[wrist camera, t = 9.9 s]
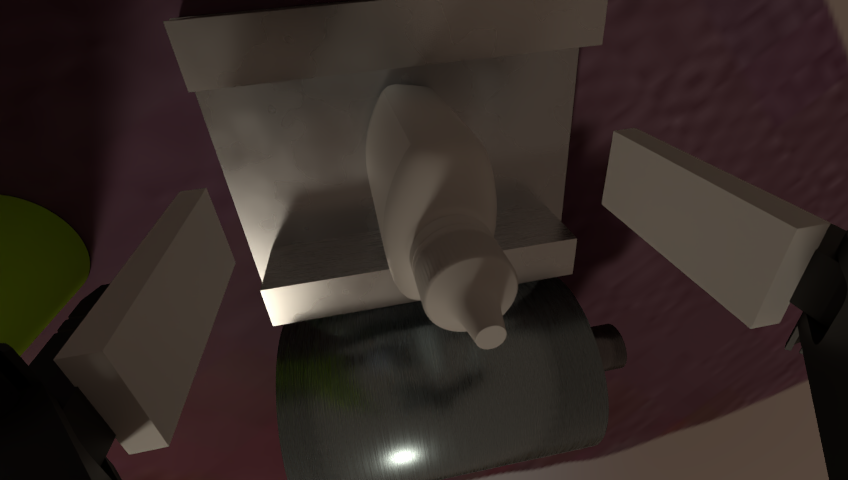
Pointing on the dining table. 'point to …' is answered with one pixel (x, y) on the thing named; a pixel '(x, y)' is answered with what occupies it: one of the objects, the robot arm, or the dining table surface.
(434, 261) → the eye dropper bottle
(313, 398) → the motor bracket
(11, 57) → the dining table surface
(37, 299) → the soap dispenser
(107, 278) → the dining table surface
